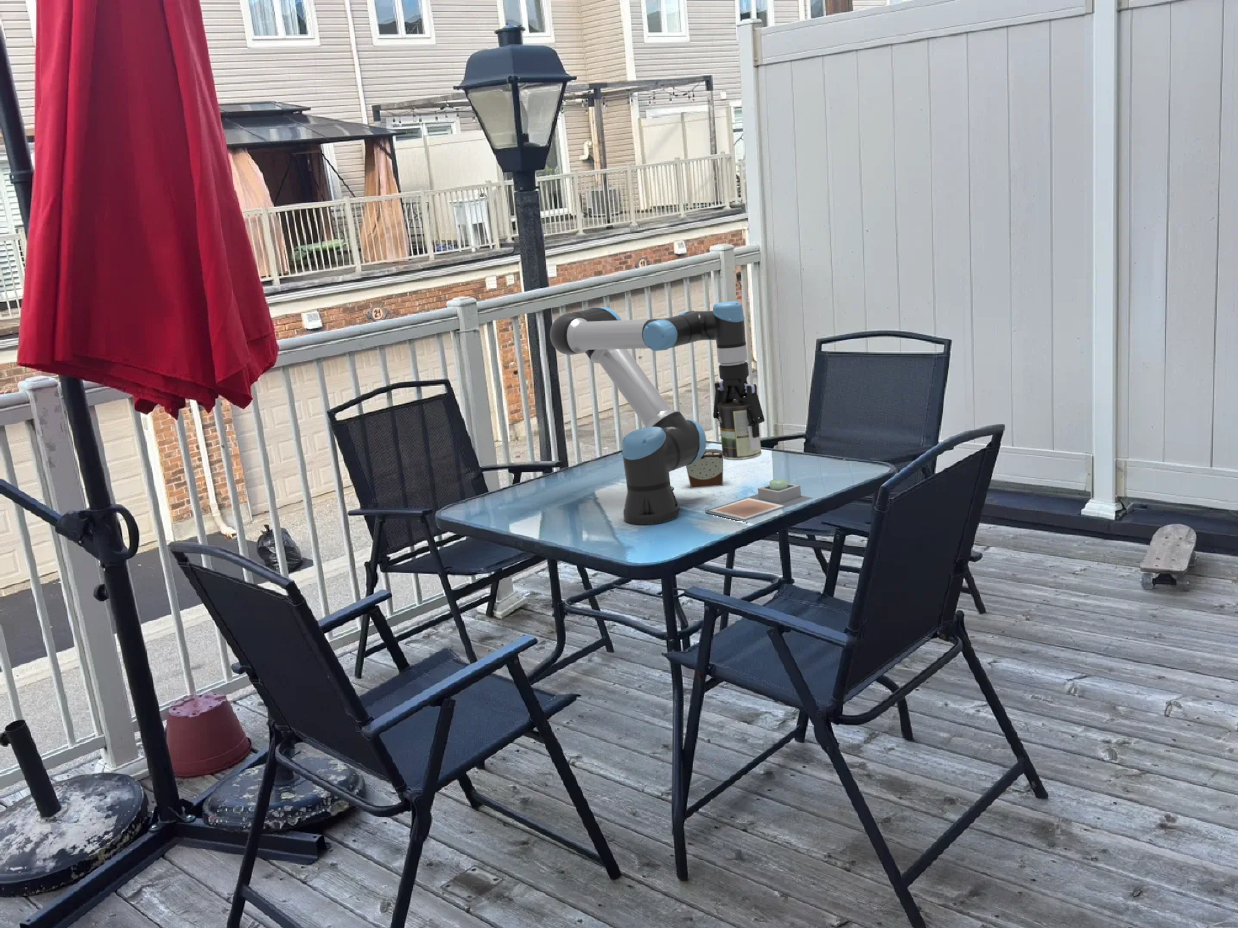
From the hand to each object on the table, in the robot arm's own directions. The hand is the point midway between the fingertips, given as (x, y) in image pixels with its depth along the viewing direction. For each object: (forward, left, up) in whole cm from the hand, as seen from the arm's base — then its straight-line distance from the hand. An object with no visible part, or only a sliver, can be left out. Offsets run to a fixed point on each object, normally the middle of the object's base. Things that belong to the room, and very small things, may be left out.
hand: (741, 447), depth 283 cm
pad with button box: (+4, 0, -17) cm, 18 cm away
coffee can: (0, 0, -2) cm, 2 cm away
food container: (+12, +32, -18) cm, 38 cm away
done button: (+12, 0, -15) cm, 20 cm away
